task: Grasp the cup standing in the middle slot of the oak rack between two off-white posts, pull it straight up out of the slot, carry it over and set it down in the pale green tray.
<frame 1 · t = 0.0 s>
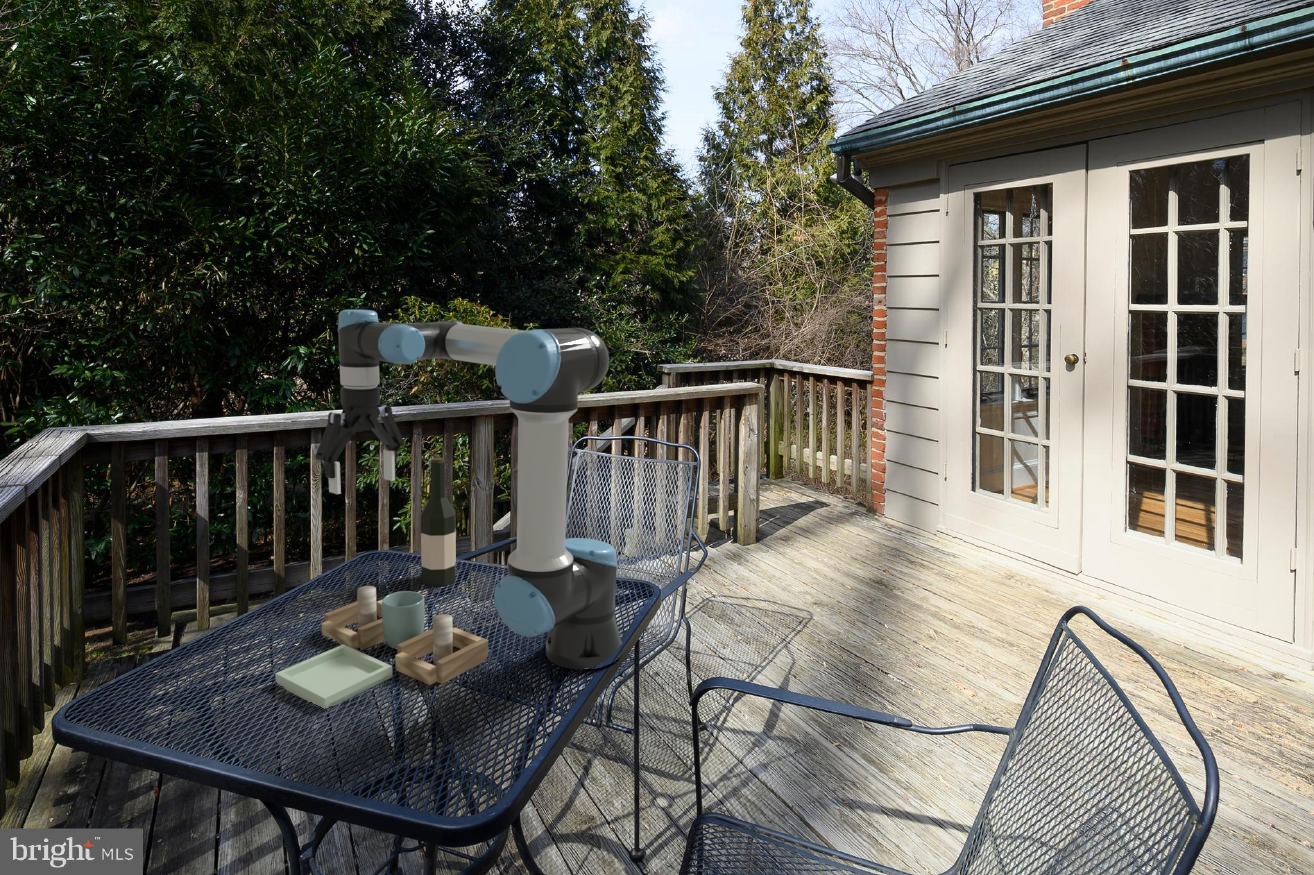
hand: (363, 486, 167), 28 cm above the table, tool pointing down, fingers open, 13 cm apart
rack: (404, 645, 158), on the table
cup: (404, 646, 158), on the table
wine bottle: (438, 580, 191), on the table
tray: (335, 680, 144), on the table
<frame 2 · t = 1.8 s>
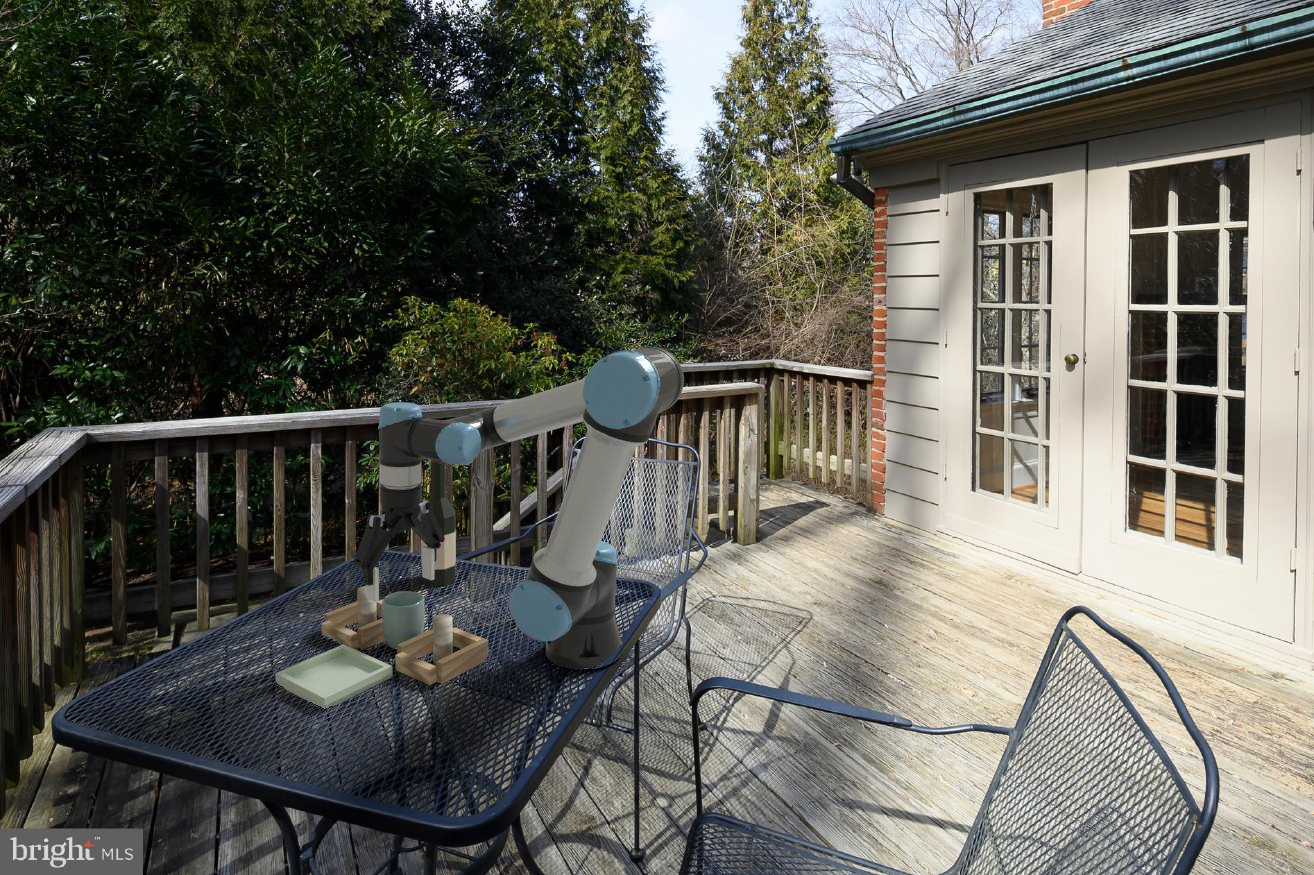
hand: (401, 588, 156), 12 cm above the table, tool pointing down, fingers open, 13 cm apart
nothing on the table moved.
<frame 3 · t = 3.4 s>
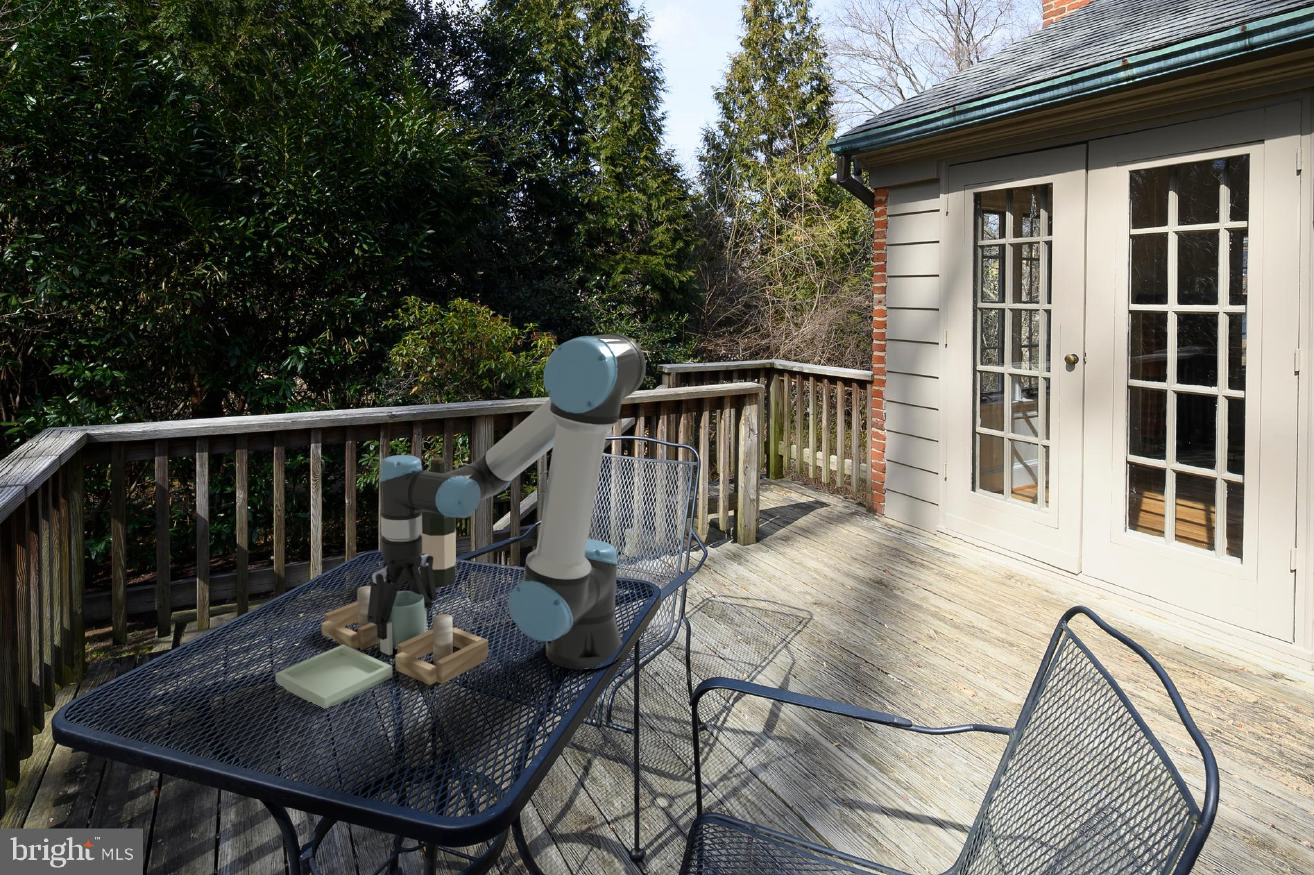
hand: (404, 644, 158), 0 cm above the table, tool pointing down, fingers closed on cup, 8 cm apart
cup: (404, 646, 158), on the table, touching gripper
everything else where it was.
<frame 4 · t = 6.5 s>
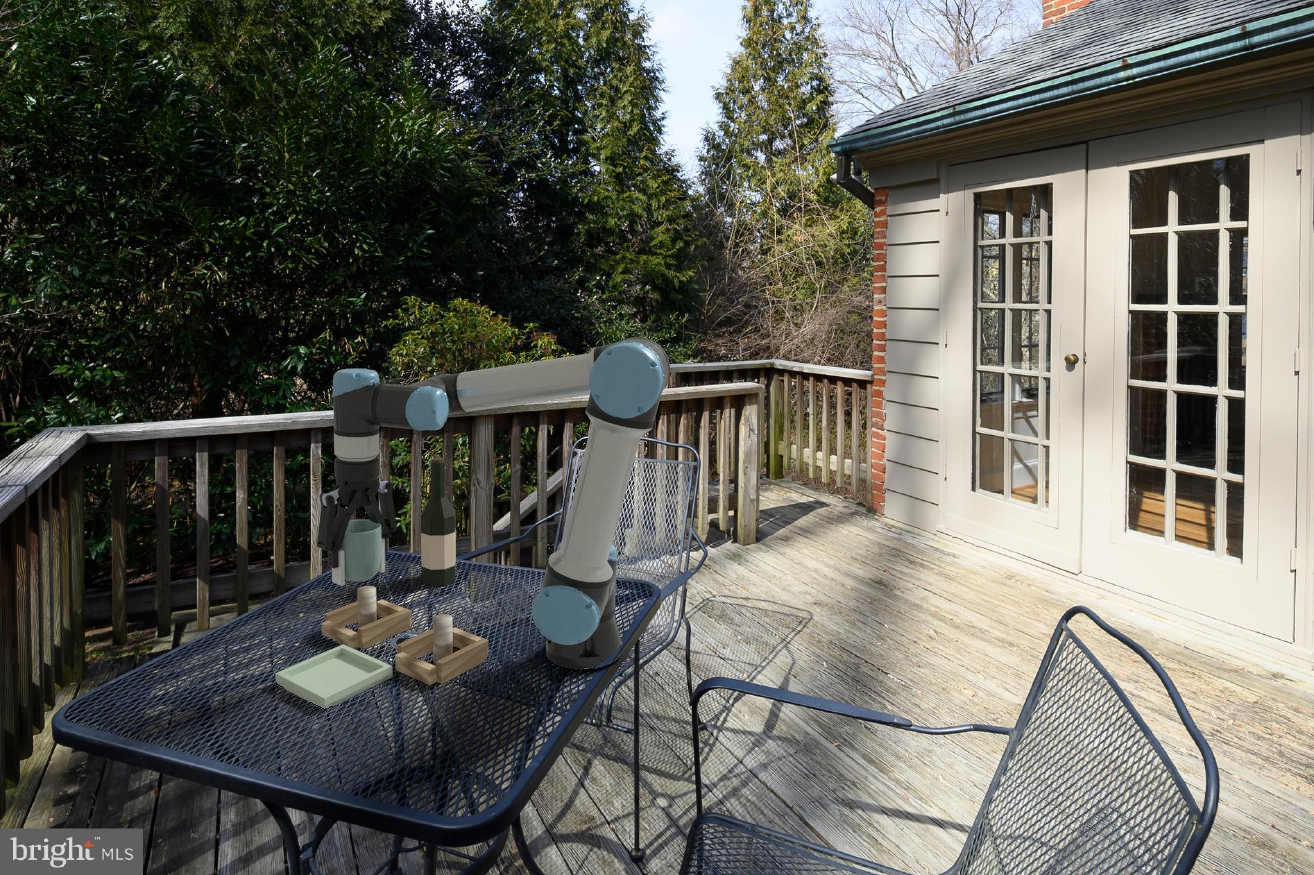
hand: (359, 576, 146), 18 cm above the table, tool pointing down, fingers closed on cup, 8 cm apart
cup: (359, 578, 146), point 17 cm above the table, touching gripper
everything else where it was.
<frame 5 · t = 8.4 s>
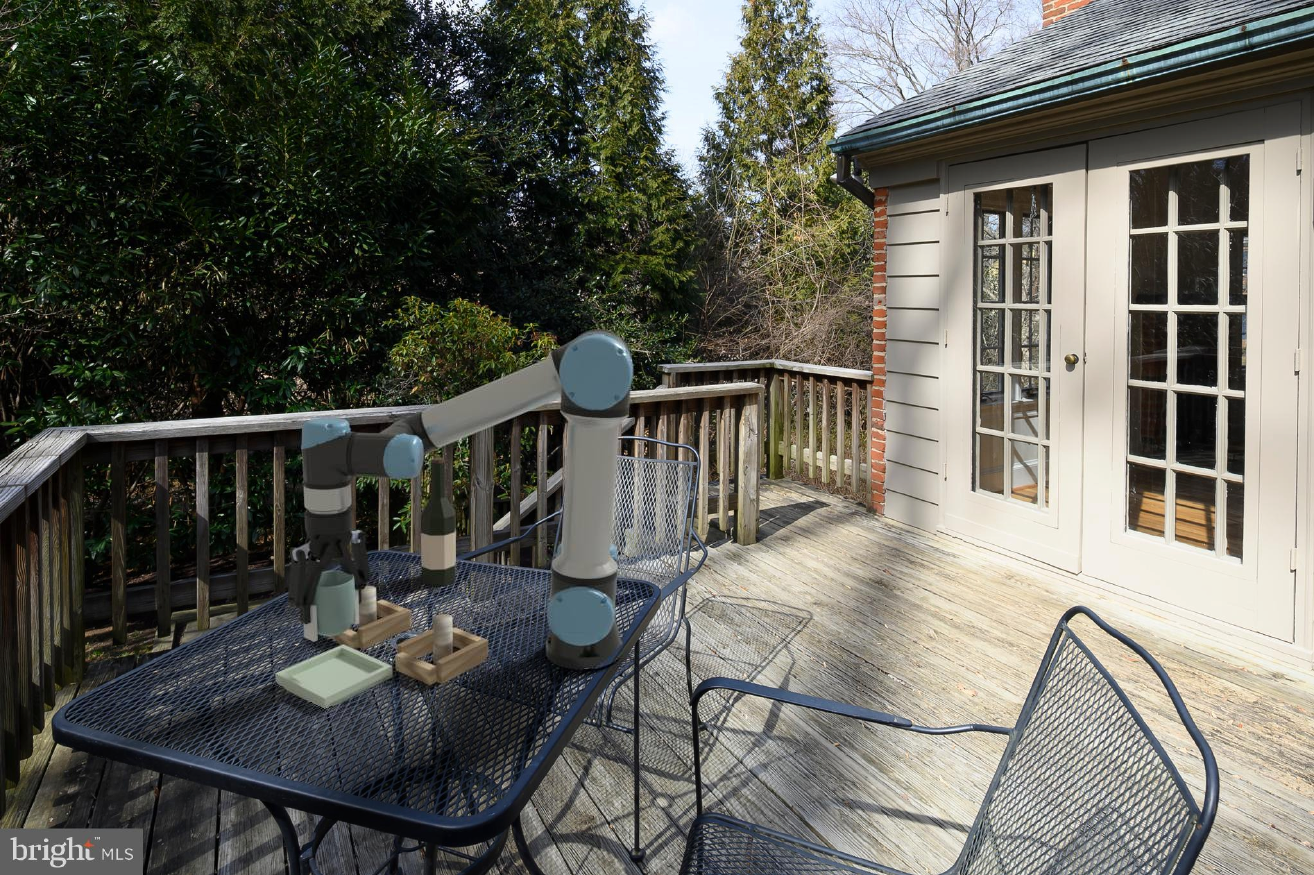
hand: (332, 630, 142), 10 cm above the table, tool pointing down, fingers closed on cup, 8 cm apart
cup: (332, 632, 142), point 9 cm above the table, touching gripper
everything else where it was.
when the fingers open (3 cm above the table, at t = 10.0 s): cup drops 2 cm, resting on tray.
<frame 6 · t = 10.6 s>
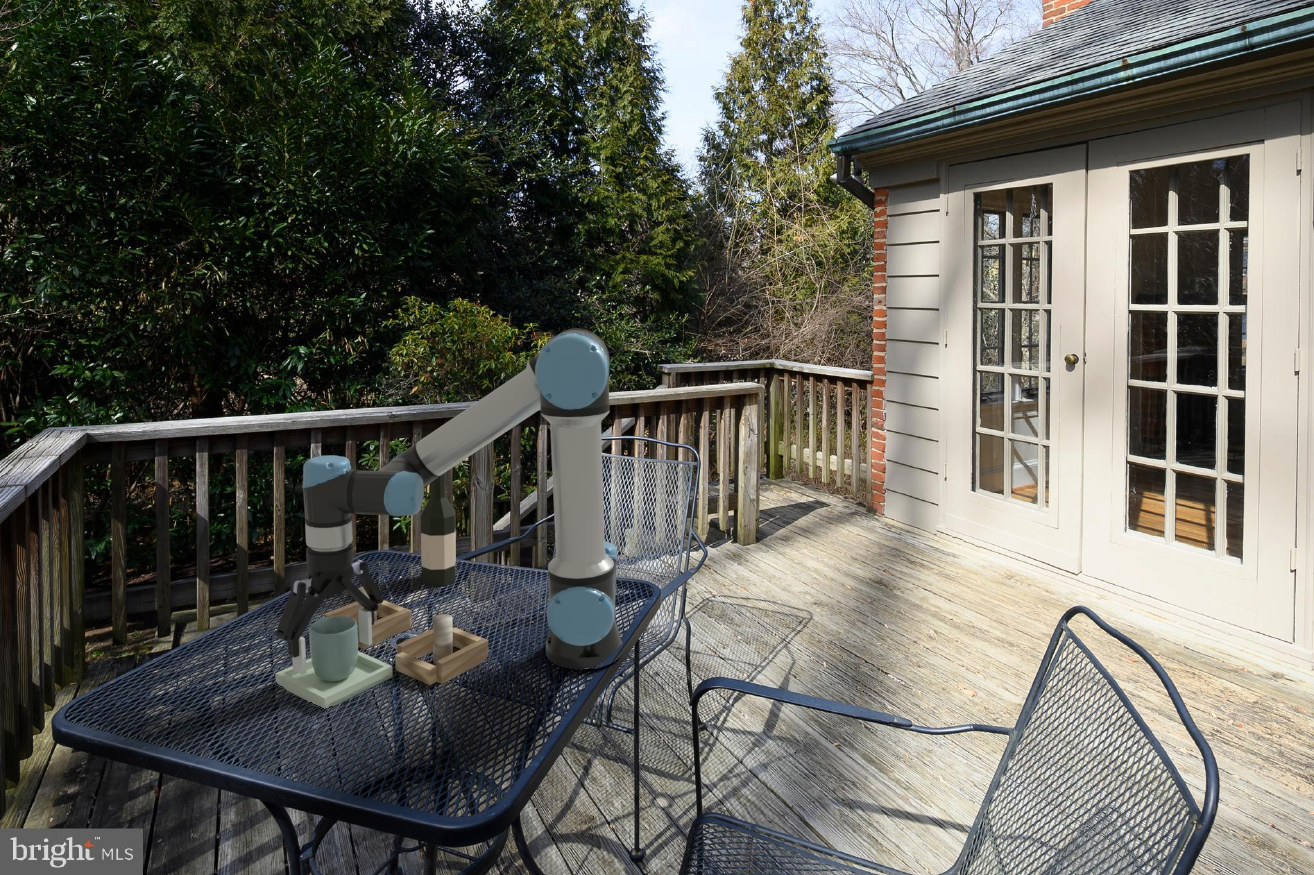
hand: (334, 656, 143), 5 cm above the table, tool pointing down, fingers open, 13 cm apart
cup: (335, 677, 144), point 1 cm above the table, touching tray
everything else where it was.
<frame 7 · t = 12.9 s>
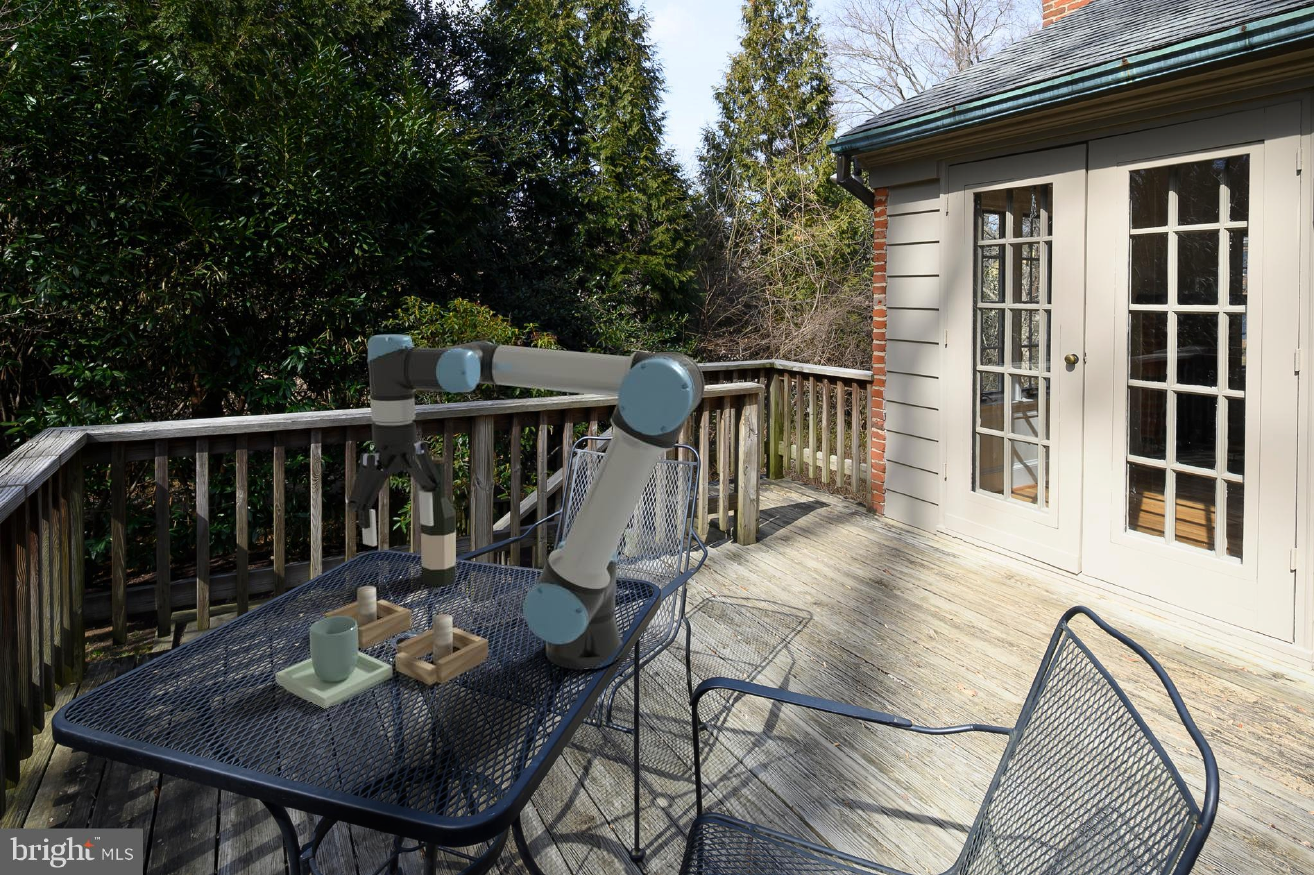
hand: (399, 534, 147), 25 cm above the table, tool pointing down, fingers open, 13 cm apart
nothing on the table moved.
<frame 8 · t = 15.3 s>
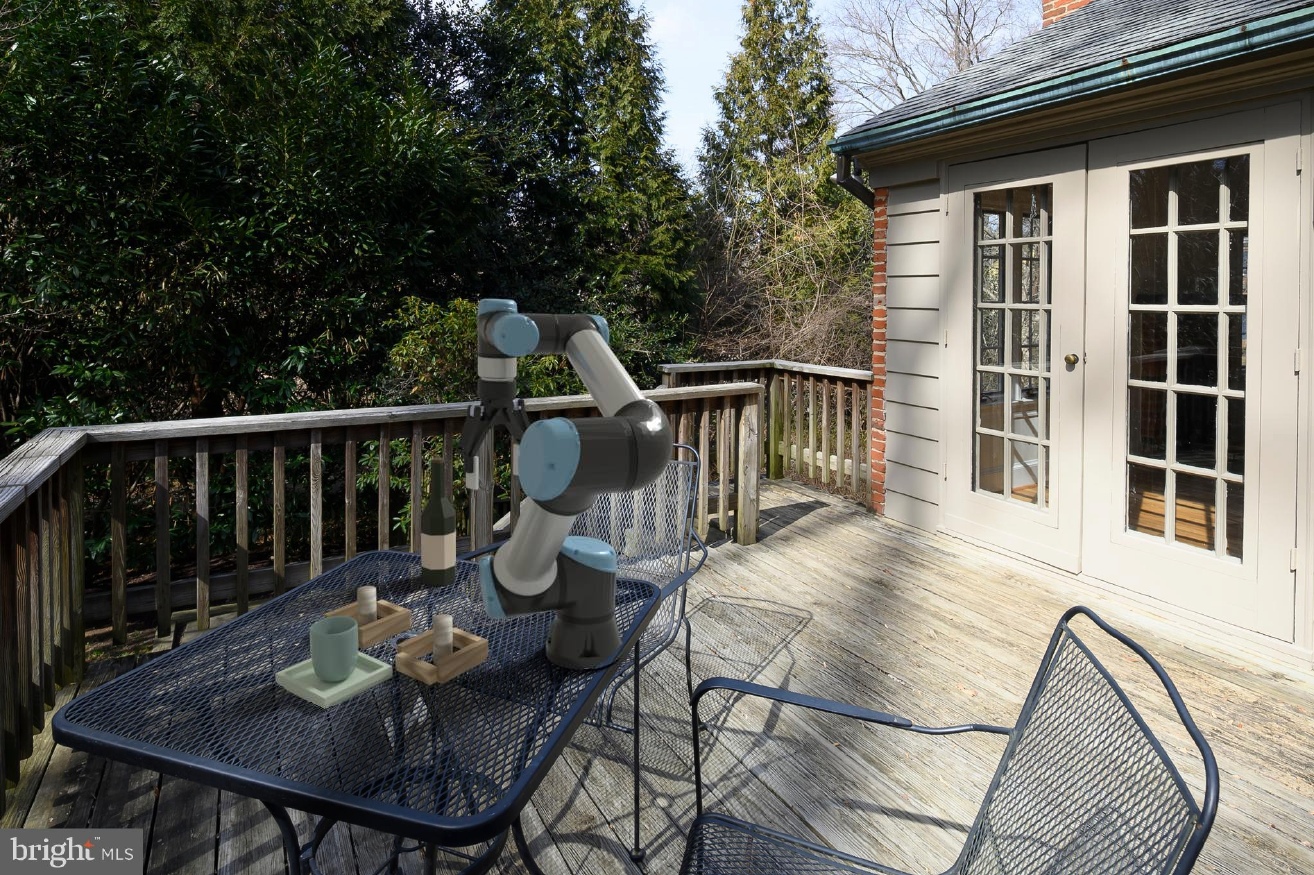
hand: (496, 481, 162), 32 cm above the table, tool pointing down, fingers open, 13 cm apart
nothing on the table moved.
at the end: cup inside the target area on the tray (0.2 cm from its centre), point 0.6 cm above the tray's base; cup tilted 0°; the gripper is holding nothing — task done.
